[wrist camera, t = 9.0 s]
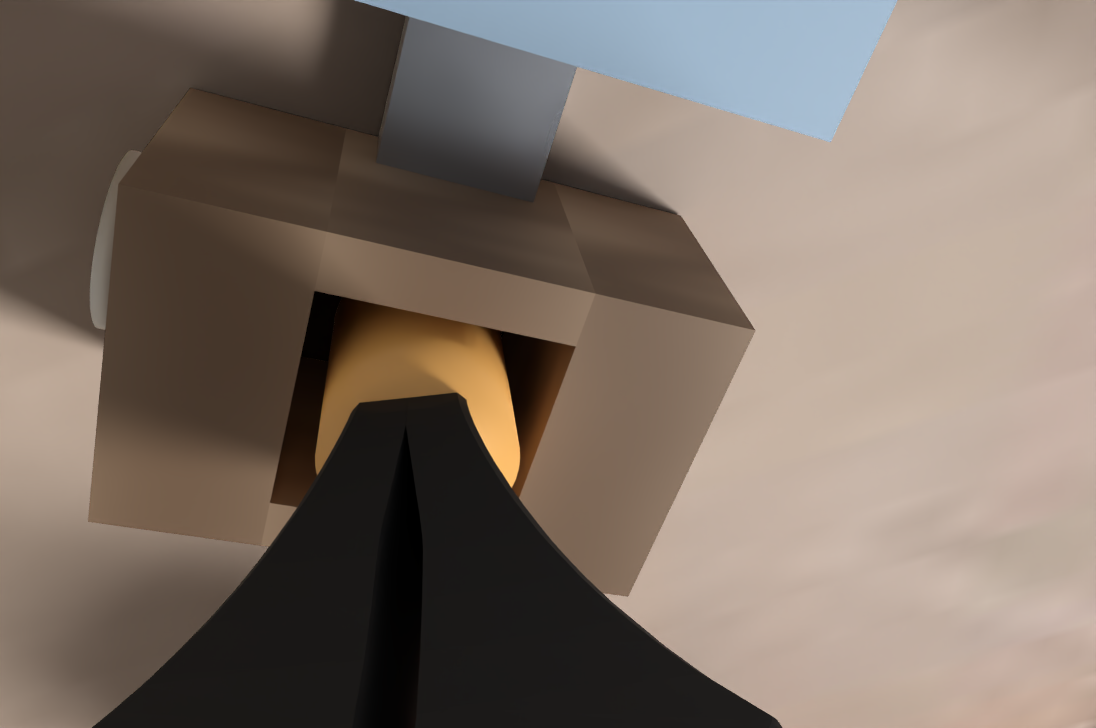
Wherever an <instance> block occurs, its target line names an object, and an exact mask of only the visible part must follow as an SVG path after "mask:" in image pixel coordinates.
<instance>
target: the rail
mask: <svg viewBox="0 0 1096 728" xmlns="http://www.w3.org/2000/svg"><path fill="white" fill-rule="evenodd" d="M576 68H577V66H573V65H570V64H567V63H563V62H560V61H557V60H553V59H550V58H546V57H543V56H540V55H536V54H533V53H530V52H526V51H523V50H520V49H516V48H513V47H510V46H506V45H503V44H500V43H496V42H493V41H490V40H486V39H483V38H479V37H476V36H473V35H469V34H466V33H463V32H459V31H456V30H453V29H449V28H446V27H443V26H439V25H436V24H433V23H429V22H426V21H422V20H419V19H416V18H412V17H409V16H406V18H405V22H404V27H403V31H402V35H401V40H400V44H399V49H398V53H397V57H396V62H395V66H394V71H393V75H392V79H391V84H390V88H389V93H388V97H387V101H386V106H385V110H384V115H383V119H382V123H381V128H380V132H379V137H378V148H377V159H376V163H379V164H383V165H387V166H391V167H395V168H399V169H403V170H407V171H411V172H415V173H419V174H423V175H427V176H431V177H434V178H438V179H442V180H446V181H450V182H454V183H458V184H462V185H466V186H470V187H474V188H478V189H482V190H486V191H490V192H494V193H498V194H502V195H505V196H509V197H513V198H517V199H521V200H525V201H529V202H534V199H535V196H536V193H537V190H538V186H539V183H540V180H541V177H542V174H543V171H544V168H545V165H546V162H547V158H548V155H549V152H550V149H551V146H552V143H553V140H554V137H555V134H556V130H557V127H558V124H559V121H560V118H561V115H562V112H563V109H564V106H565V102H566V99H567V96H568V93H569V90H570V87H571V84H572V81H573V78H574V74H575V71H576Z"/></svg>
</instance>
